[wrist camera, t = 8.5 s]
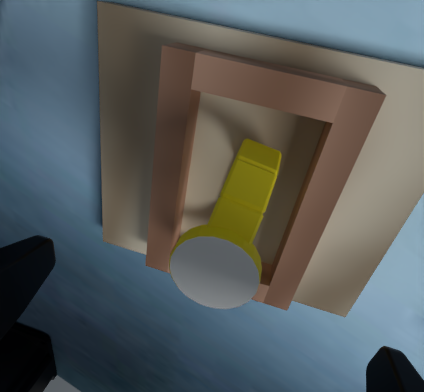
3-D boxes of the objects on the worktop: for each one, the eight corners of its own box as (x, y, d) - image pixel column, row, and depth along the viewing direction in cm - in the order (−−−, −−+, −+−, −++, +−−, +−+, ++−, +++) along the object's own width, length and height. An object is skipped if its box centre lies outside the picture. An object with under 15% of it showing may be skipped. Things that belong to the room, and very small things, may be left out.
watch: (236, 115, 13) (200, 163, 8) (299, 140, 13) (306, 206, 7) (195, 227, 16) (148, 318, 10) (246, 248, 16) (223, 351, 10)
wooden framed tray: (111, 231, 19) (88, 258, 17) (110, 2, 13) (72, -2, 10) (343, 302, 17) (348, 342, 15) (477, 79, 11) (519, 93, 9)
